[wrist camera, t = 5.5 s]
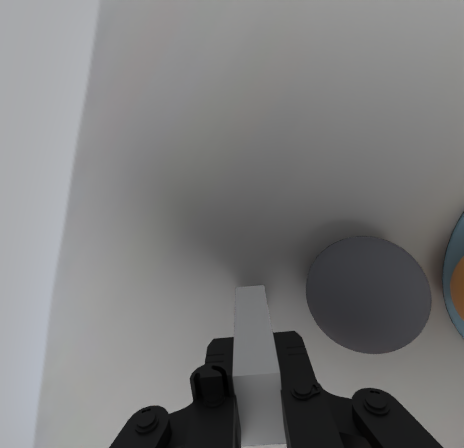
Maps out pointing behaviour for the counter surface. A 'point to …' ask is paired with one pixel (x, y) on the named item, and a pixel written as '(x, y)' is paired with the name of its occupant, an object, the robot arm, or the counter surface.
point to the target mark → (458, 247)
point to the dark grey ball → (368, 295)
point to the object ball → (458, 288)
